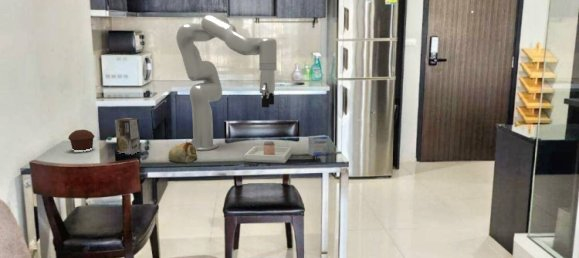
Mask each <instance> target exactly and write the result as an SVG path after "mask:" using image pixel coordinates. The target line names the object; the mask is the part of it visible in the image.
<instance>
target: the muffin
mask: <svg viewBox="0 0 579 258" xmlns="http://www.w3.org/2000/svg"><path fill="white" fill-rule="evenodd" d="M95 137H96V136H95V134H94V133H93V132H91V131H90V130H88V129H76V130H74V131H72V132H71V133H70V134H69V135H68V138H67V139H68V141H70V146H71V149H74V150H86V149H90V148H94V146H93V145H94V139H95Z"/></svg>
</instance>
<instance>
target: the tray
mask: <svg viewBox="0 0 579 258" xmlns="http://www.w3.org/2000/svg"><path fill="white" fill-rule="evenodd" d="M292 155H293V147H288V146H287V147H285V146H282V147H281V146H275V155H264V145H262V146H260V145H254V146H253V147H252V148H250V149H249V150H248V151H247V152H246V153H244V155H243V156H244V157H243V158H244V159H243V161H244V162H253V163H274V164H276V163H277V164H285V163H287V161H288V160H289V158H290V157H291V156H292Z"/></svg>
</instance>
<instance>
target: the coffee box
mask: <svg viewBox="0 0 579 258" xmlns="http://www.w3.org/2000/svg"><path fill="white" fill-rule="evenodd" d="M114 124H115V126H114V127H115V139H116V153H117V152H119V153H118V154H121V153H125V154H124V155H130V154H131V155H135V153H136V154H138V153H137V152H140V153H141V140H140V139H141V138H140V136H141V135H140V120H139V118H135V117H134V118H132V117H121V118H118V119H114Z"/></svg>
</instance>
